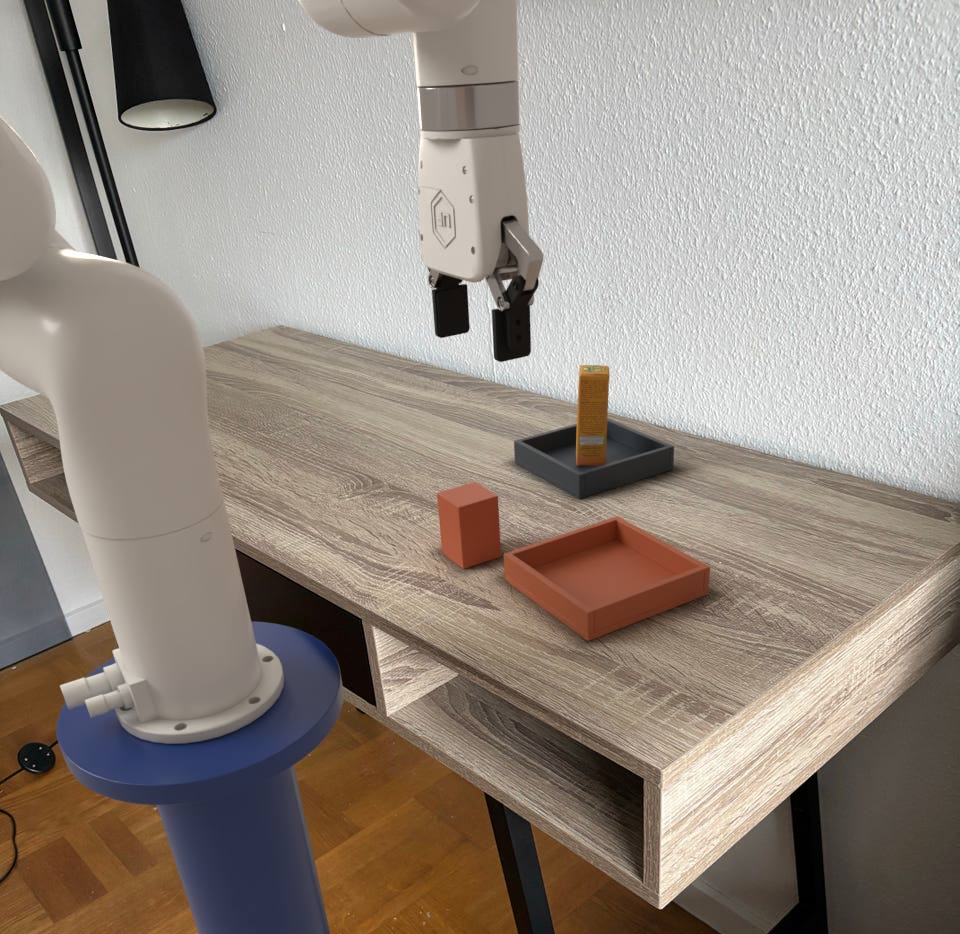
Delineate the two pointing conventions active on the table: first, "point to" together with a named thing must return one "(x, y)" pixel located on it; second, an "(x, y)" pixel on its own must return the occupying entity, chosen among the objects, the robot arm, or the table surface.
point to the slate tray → (624, 464)
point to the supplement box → (592, 415)
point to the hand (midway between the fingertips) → (481, 345)
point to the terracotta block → (469, 524)
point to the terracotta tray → (605, 576)
